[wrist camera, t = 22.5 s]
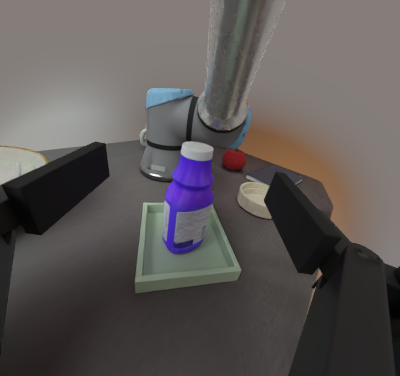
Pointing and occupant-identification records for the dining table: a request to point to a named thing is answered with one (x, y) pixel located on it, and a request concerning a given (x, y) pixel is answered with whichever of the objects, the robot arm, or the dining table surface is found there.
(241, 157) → the tomato
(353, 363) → the robot arm
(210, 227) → the tray
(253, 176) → the notebook
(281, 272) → the dining table surface
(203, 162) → the bottle
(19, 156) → the bowl
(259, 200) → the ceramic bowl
